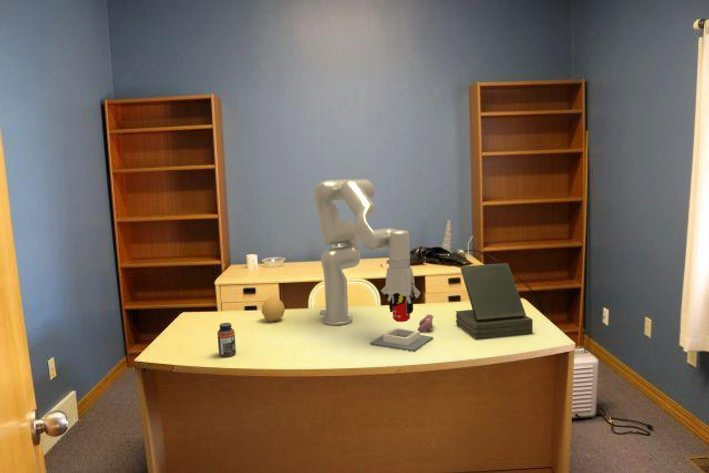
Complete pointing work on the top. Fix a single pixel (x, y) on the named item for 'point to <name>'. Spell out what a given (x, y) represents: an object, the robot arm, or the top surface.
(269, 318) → the stress ball
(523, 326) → the dark grey slab stack
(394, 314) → the beverage can
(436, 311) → the top surface
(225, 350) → the supplement bottle
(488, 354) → the top surface
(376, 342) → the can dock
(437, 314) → the top surface
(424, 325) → the video game controller
